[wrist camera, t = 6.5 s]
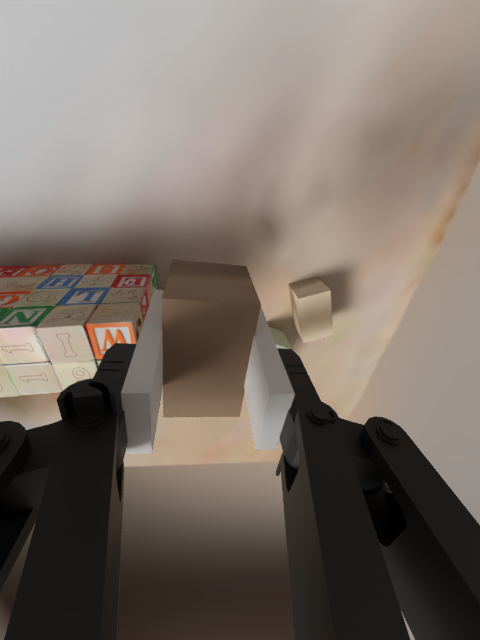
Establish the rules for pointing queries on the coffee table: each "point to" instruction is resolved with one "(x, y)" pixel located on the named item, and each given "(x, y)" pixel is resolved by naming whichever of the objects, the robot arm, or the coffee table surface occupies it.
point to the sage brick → (280, 338)
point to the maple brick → (311, 309)
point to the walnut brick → (207, 338)
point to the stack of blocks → (67, 321)
